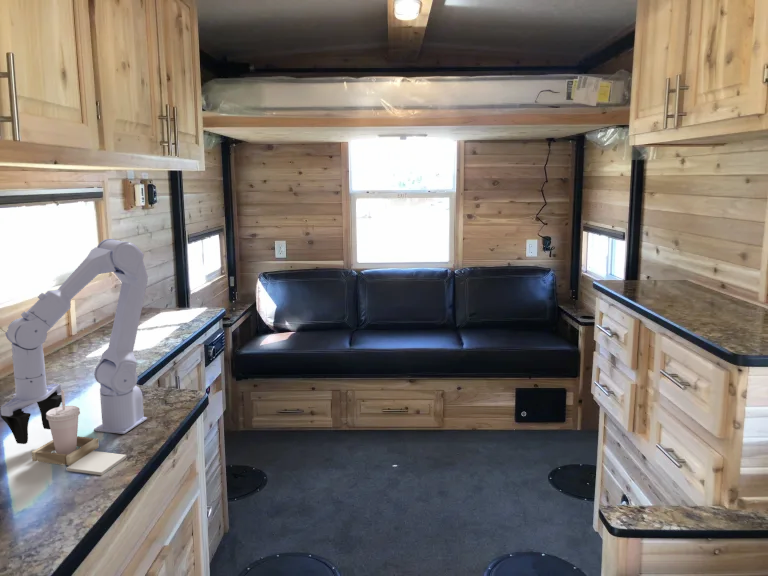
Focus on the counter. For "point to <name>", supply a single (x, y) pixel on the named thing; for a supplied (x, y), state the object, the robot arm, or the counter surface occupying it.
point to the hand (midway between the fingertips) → (35, 435)
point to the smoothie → (64, 427)
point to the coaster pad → (96, 462)
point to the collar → (47, 456)
